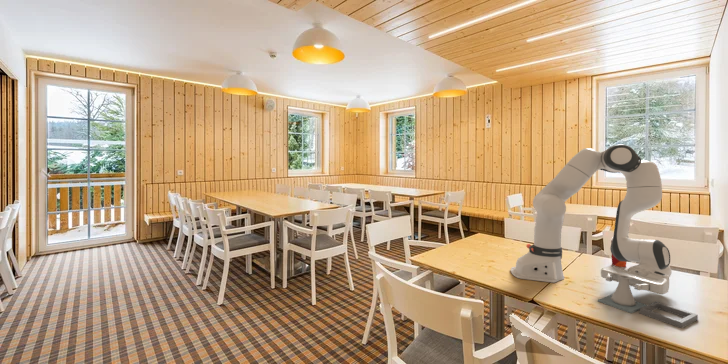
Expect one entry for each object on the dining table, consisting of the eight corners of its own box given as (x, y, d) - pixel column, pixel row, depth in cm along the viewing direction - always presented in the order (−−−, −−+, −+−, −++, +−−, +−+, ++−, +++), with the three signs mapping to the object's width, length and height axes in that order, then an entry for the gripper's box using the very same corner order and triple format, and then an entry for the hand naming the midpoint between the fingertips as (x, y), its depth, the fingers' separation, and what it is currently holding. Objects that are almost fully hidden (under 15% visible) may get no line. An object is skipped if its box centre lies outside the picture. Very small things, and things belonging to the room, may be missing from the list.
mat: (631, 313, 115) (631, 311, 115) (597, 301, 125) (597, 299, 125) (647, 306, 120) (647, 305, 120) (613, 295, 130) (613, 294, 130)
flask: (624, 298, 126) (625, 272, 125) (640, 306, 119) (642, 279, 118) (606, 298, 126) (607, 273, 125) (621, 307, 119) (622, 280, 118)
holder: (681, 328, 105) (682, 322, 105) (639, 313, 115) (639, 308, 115) (697, 319, 110) (697, 314, 110) (655, 306, 120) (655, 301, 120)
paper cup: (622, 268, 160) (624, 240, 159) (606, 264, 167) (607, 237, 166) (632, 266, 163) (633, 239, 162) (615, 262, 170) (616, 235, 169)
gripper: (611, 261, 137) (592, 266, 131) (674, 277, 118) (655, 284, 112) (611, 276, 137) (591, 282, 131) (673, 293, 119) (654, 301, 113)
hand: (621, 283), depth 122 cm, fingers open, 8 cm apart
